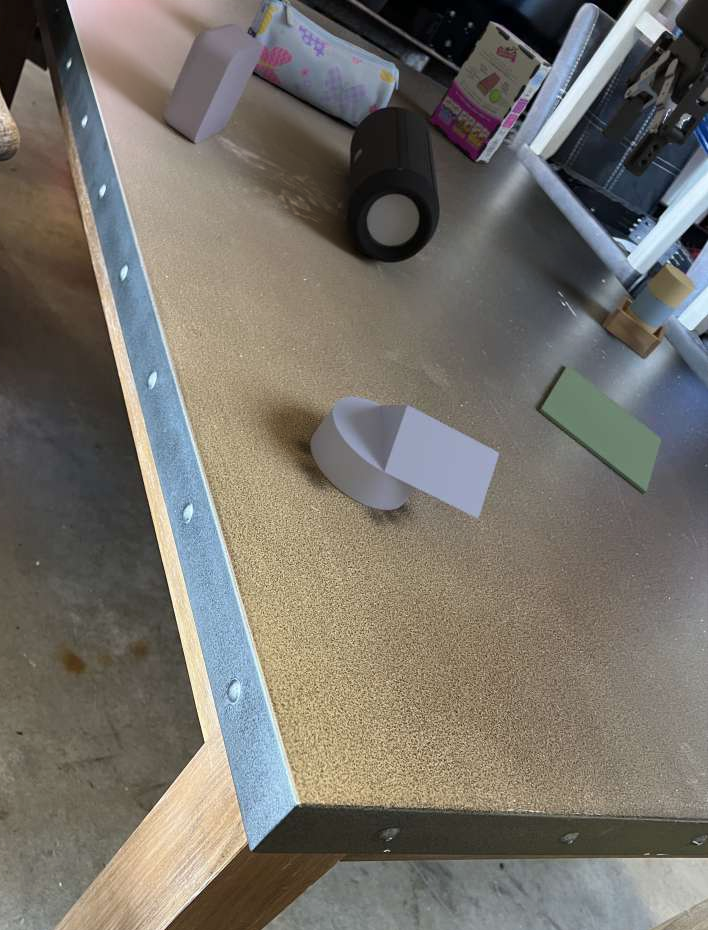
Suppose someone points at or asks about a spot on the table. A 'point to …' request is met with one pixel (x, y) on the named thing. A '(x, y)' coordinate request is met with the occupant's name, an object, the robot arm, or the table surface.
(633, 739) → the table surface
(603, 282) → the table surface
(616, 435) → the mat
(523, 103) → the popsicle box
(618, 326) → the holder
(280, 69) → the pencil case
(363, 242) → the portable speaker
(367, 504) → the wedge on round base
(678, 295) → the tape stack
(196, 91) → the mauve upright block
